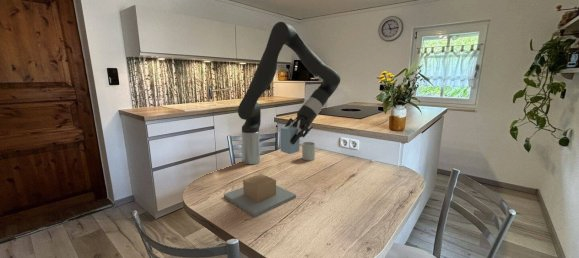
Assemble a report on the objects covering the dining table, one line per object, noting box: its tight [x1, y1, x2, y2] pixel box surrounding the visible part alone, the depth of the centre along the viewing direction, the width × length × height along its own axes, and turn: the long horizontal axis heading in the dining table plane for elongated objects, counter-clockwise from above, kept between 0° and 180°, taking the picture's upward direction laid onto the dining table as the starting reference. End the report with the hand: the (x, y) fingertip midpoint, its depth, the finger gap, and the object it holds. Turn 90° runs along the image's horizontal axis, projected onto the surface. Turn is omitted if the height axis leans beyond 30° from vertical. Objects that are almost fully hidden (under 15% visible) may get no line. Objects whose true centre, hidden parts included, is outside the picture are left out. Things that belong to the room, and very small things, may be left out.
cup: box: [301, 141, 316, 161], centre depth 145 cm, size 7×10×9 cm
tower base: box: [223, 173, 297, 218], centre depth 98 cm, size 20×20×7 cm
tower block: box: [280, 126, 301, 155], centre depth 105 cm, size 6×6×10 cm
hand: (286, 141), depth 104 cm, fingers closed on tower block, 6 cm apart
